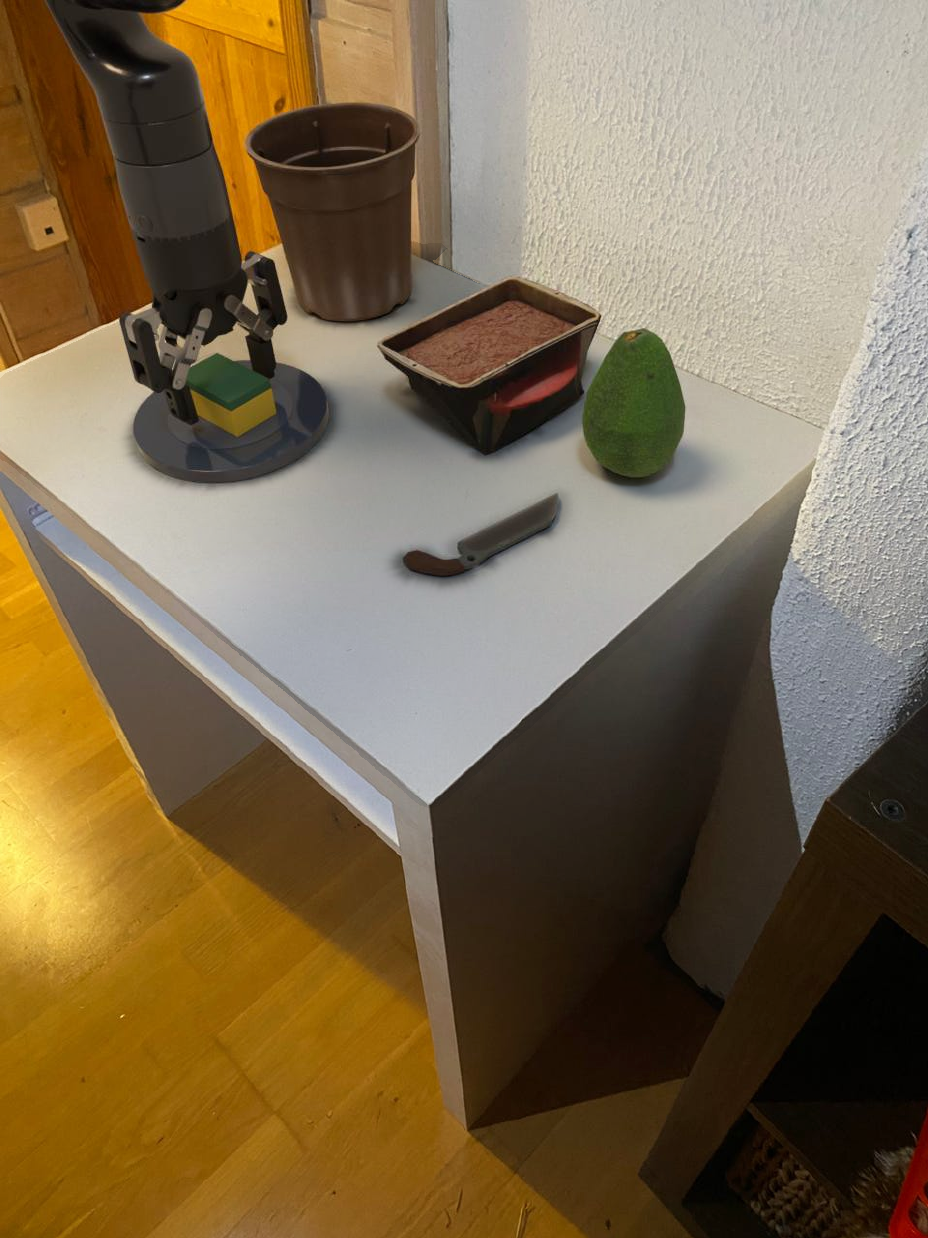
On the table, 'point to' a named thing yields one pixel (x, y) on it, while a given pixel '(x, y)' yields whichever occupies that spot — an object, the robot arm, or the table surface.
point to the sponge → (230, 394)
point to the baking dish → (498, 359)
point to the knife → (488, 540)
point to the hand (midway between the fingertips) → (227, 397)
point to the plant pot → (341, 203)
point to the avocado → (634, 406)
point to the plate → (220, 453)
